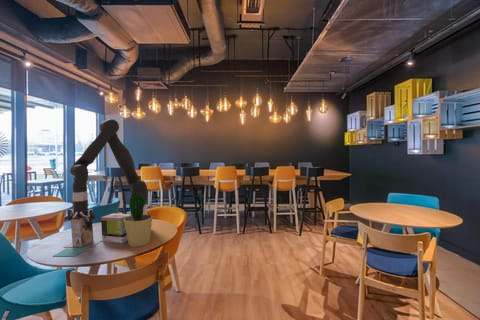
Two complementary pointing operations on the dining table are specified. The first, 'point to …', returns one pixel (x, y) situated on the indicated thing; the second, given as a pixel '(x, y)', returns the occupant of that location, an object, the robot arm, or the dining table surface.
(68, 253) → the mat
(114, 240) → the tea box
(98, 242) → the plate
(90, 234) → the coffee box
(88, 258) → the dining table surface
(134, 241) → the potted cactus
